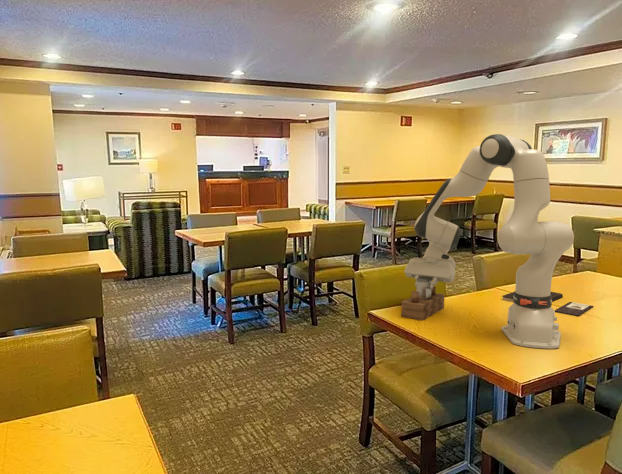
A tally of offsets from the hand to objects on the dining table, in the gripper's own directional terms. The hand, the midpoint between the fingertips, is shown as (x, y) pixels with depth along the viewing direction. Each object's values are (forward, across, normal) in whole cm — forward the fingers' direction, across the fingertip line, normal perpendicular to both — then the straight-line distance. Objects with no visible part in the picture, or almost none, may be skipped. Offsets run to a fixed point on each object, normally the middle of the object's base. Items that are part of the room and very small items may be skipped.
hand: (423, 287), depth 188 cm
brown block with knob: (+7, 0, +8) cm, 11 cm away
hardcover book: (-26, +29, +42) cm, 57 cm away
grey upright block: (+4, 0, +4) cm, 6 cm away
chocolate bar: (-20, +47, +37) cm, 63 cm away
